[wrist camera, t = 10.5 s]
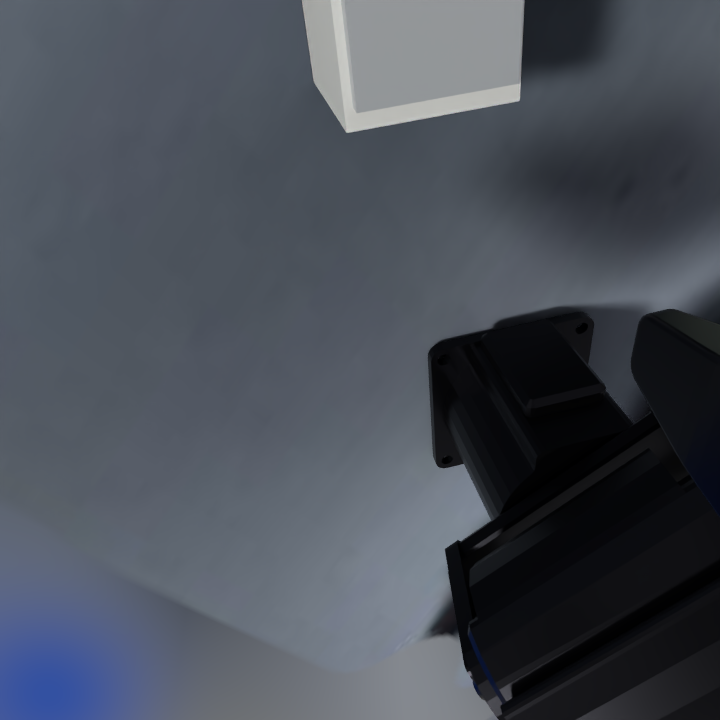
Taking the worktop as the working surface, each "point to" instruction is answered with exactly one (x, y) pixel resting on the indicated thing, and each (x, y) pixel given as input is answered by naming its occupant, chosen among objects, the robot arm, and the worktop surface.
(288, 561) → the worktop surface
